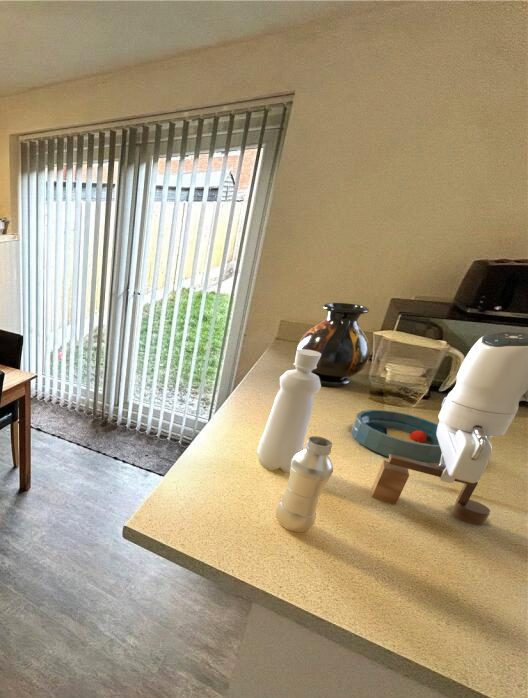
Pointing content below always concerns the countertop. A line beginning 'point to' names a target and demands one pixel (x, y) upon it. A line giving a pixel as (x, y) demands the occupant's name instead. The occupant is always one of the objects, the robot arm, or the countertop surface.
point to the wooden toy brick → (389, 482)
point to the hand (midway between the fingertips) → (444, 476)
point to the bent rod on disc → (463, 506)
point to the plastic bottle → (305, 485)
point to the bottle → (290, 413)
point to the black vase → (338, 344)
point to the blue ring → (374, 436)
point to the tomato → (418, 436)
